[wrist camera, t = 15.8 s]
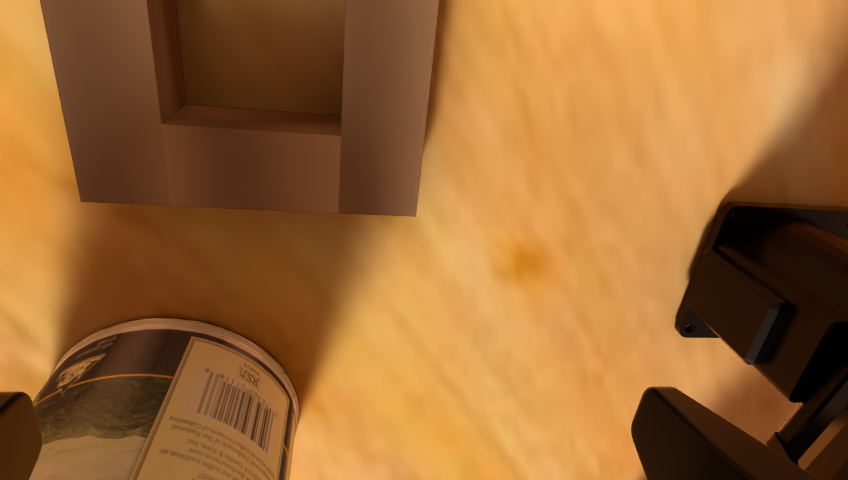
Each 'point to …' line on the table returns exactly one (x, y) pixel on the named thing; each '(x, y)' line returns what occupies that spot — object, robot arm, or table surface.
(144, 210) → the table surface
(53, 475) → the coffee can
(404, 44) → the socket block
